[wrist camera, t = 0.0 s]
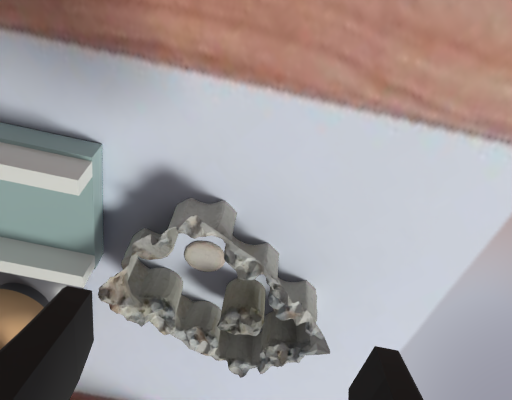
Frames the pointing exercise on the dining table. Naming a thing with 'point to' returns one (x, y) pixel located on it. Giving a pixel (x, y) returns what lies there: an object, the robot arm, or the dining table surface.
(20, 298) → the spool
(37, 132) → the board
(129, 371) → the dining table surface
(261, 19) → the dining table surface
